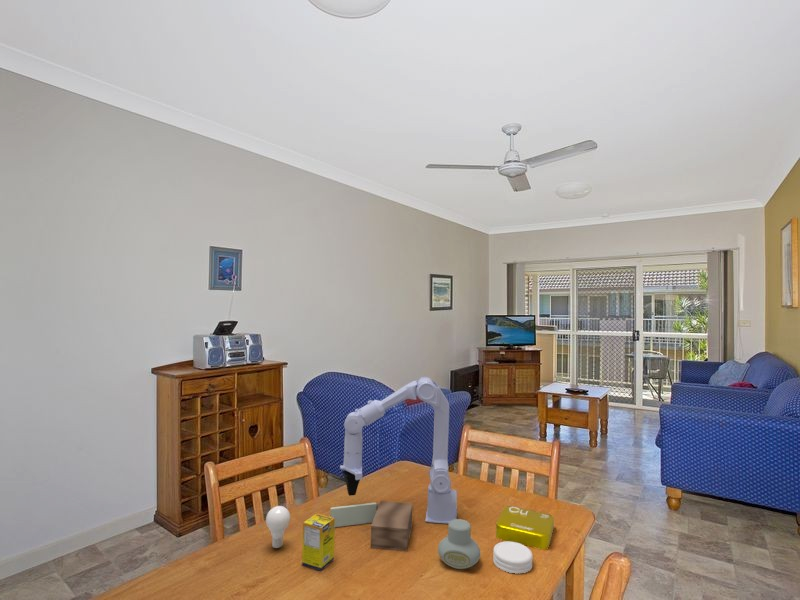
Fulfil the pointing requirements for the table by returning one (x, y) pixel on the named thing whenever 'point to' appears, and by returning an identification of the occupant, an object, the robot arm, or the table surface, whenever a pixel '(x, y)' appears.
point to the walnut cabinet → (391, 526)
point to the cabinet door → (353, 514)
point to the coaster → (512, 557)
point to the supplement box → (318, 541)
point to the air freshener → (459, 546)
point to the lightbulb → (277, 524)
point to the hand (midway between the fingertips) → (351, 494)
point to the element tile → (525, 527)
